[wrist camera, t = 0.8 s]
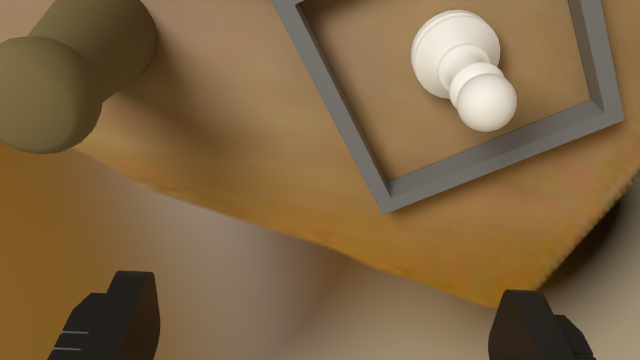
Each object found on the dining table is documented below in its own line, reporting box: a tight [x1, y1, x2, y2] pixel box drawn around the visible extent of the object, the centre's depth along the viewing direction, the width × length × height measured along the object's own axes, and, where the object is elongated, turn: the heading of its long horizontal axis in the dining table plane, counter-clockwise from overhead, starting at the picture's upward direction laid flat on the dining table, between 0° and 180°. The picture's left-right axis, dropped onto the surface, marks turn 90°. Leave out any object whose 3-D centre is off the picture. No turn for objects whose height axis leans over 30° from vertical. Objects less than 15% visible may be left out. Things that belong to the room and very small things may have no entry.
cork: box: [0, 0, 157, 154], centre depth 27 cm, size 6×6×11 cm
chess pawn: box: [411, 10, 517, 132], centre depth 29 cm, size 5×5×9 cm
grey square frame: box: [271, 0, 625, 215], centre depth 32 cm, size 16×16×2 cm
